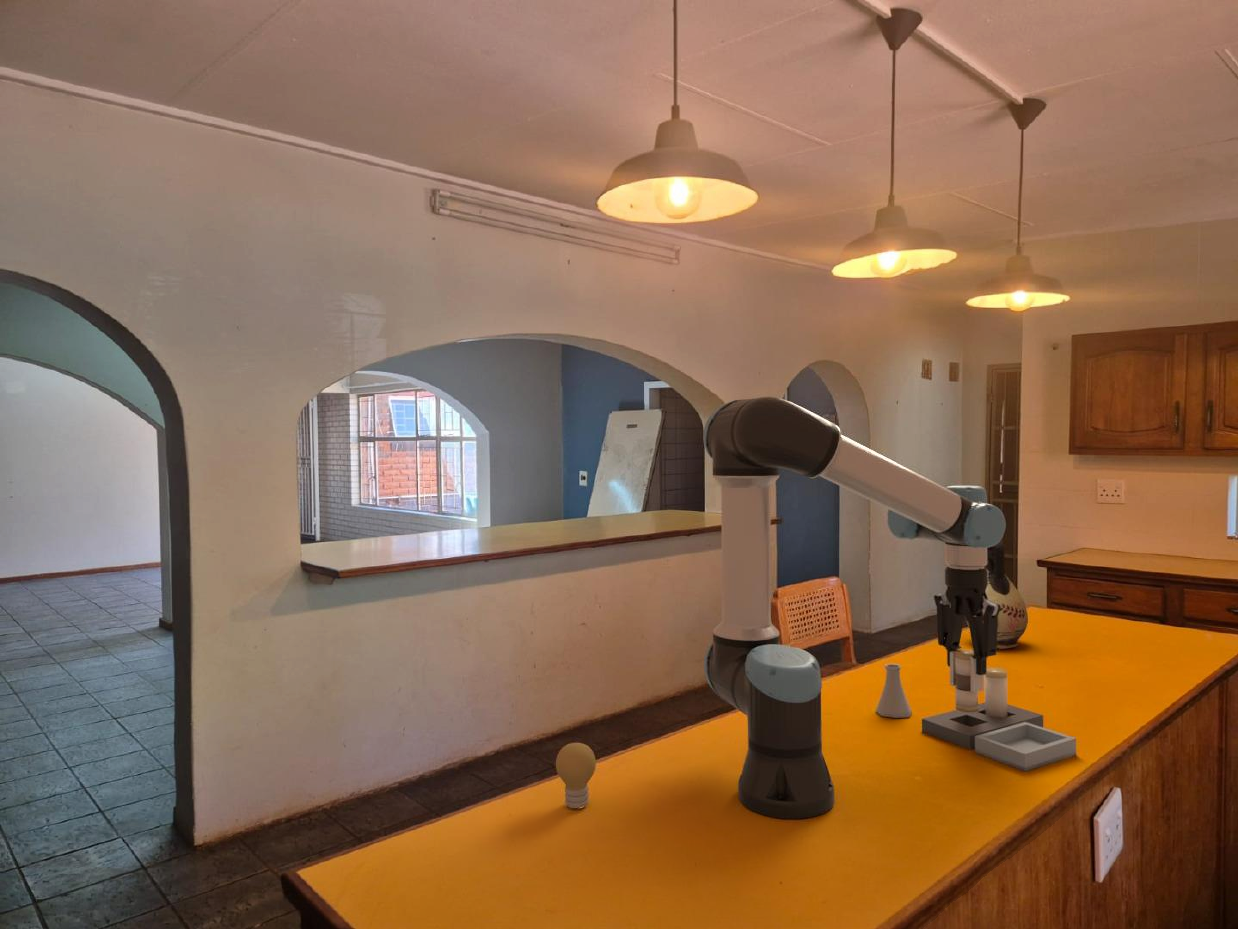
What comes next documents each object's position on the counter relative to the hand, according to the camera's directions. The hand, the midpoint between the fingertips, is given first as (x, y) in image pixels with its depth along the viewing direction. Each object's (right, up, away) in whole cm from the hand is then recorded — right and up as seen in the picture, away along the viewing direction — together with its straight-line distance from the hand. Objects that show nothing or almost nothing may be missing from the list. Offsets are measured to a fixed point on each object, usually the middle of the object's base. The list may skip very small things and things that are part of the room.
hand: (966, 687), depth 157 cm
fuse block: (+4, -9, +2) cm, 10 cm away
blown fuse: (0, -4, 0) cm, 4 cm away
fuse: (+8, -9, +4) cm, 12 cm away
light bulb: (-73, -12, -26) cm, 79 cm away
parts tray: (+6, -9, -10) cm, 15 cm away
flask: (-10, -9, +13) cm, 19 cm away
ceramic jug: (+36, -7, +64) cm, 74 cm away
